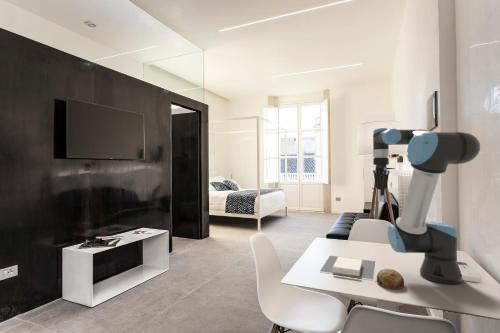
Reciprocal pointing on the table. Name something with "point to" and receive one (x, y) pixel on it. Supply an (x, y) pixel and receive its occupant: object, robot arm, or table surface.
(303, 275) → the table surface
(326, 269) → the mat
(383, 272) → the bread roll
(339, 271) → the tile
